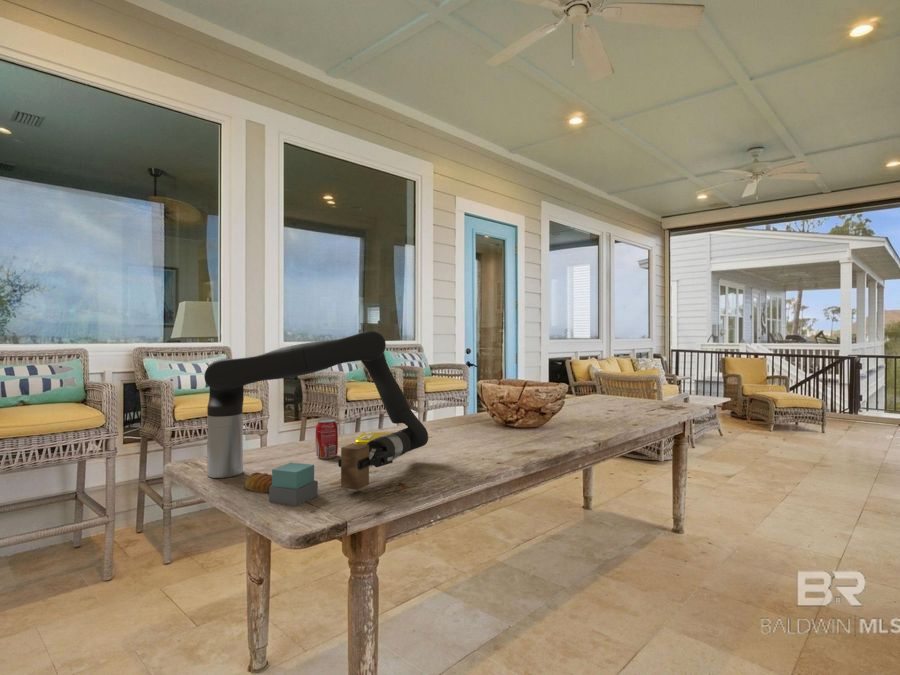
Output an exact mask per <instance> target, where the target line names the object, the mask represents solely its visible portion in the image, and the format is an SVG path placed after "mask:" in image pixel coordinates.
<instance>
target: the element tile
mask: <svg viewBox="0 0 900 675" xmlns="http://www.w3.org/2000/svg"><path fill="white" fill-rule="evenodd" d="M394 432H395V431H392V432H390V431H388V432H387V431H386V432H383V431H380V432H375V431H374V432H373V431H372V432H370V431H369V432H366V431H365V432H362V433H361V434H360V435H359V436H358V437H356V439H355V440H354V444H363V445H367V443H368V442H369V441H371V440H373V439H375V438H378V437H381V436H384V435H389V434H392V433H394Z"/></svg>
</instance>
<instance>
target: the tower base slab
mask: <svg viewBox="0 0 900 675" xmlns="http://www.w3.org/2000/svg"><path fill="white" fill-rule="evenodd" d="M318 481H319V480H315V479H314V481H313V482H311V483H309V484H307V485H305V486H302V487H300V488H298V489H290V488H282V487H274V486H272V485H271V486H269V492H268V494H269V497H268V498H269V499H268V501H269V503H274V504H281V505H287V506H292V507H297V506H299V505H302V504H303V503H305V502H308V501H310V500H311V499H313V498H314V499H315V498H316V497H318V496H319V495H318V494H319V493H318V492H319V487H318V485H319V482H318Z"/></svg>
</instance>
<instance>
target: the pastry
mask: <svg viewBox="0 0 900 675" xmlns="http://www.w3.org/2000/svg"><path fill="white" fill-rule="evenodd" d="M271 485H272V474H270V473H269V474H268V473H265V472H264V473H262V472H253V473H251V475H249V476H248V477H247V478H246V480H245V482H244V487H245V488H246V489H247V490H249V491H250V492H255V493H263V494H265V493H269V486H271Z"/></svg>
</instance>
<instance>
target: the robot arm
mask: <svg viewBox="0 0 900 675" xmlns="http://www.w3.org/2000/svg"><path fill="white" fill-rule="evenodd" d="M386 345H387V344H386V340H385V337H384V336H383V335H382V334H381V333H379V332H377V331H375V330H365V331H363V332H360V333H356V334H353V335H349V336H345V337H341V338H338V339H337V338H336V339H329V340H319V341H311V342H304V343H298V344H293V345H288V346H284V347H280V348H276V349H274V350H270V351H268V352H264V353H262V354H258V355H255V356H254V355H253V356H248V357H241V358H230V357H226V358H224V357H223V358H220V359H217V360H216V359H215V360H214V361H212V362H211V363H210V364H209V365H208V366H207V368H206V370H205V372H204V382H205V383H206V385H207V386H208V388H209V398H208V403H207V408H206V410H207V411H206V414H207V415H206V416H207V419H206V420H207V423H206V424H207V441H206V472H207V476H208V477H210V478H213V479H214V478H215V479H216V478H217V479H222V478H231V477H235V476H238V475H241V474H242V473H243V472H244V459H243V458H244V448H243V447H244V445H243V443H244V442H243V441H244V434H243V433H244V432H243V430H244V428H243V414H244V413H243V412H244V411H243V407H244V406H243V405H244V394H245V393H244V392H245V391H244V387H245V386H246V385H250V384H254V383H259V382H262V381H271V380H280V379H281V380H282V379H288V378H294V377H300V376H303V375H304V376H305V375H310V374H313V373H316V372H320V371H321V372H322V371H324V370H327V369H330V368H331V367H334V366H338V365H341V364H344V363H352V362H360V361H361V363H362V364H363V365H364V367H365V369H366V370H367V372H368V373H369V375H370V377H371V379H372V381H373V383H374V385H375V387H376V389H377V392H378V394H379V397H380V400H381V401H382V404H383V407H384V409H385V411H386V413H387V415H388V418H389V419H390V422H391V423H392V424H395V425H396V424H403V425H405V426H406V427H405V428H403V429H400V430H398V431H393V432H394V433H392V434H389V435H384V436H381V437H378V438H375V439H373V440H371V441H369V442H368V443H367V445H369V456H368V458H364V459H361V460H359V461H358V463H357V469H358V470H361V469H364V468H366V467H369V468H372V467H375V468H379V467H383V466H386V465H390V464H393V461H394V460H396V459H398V458H400V457H401V456H403V455H405V454H406V453H409V452H411V451H413V450H417V449H419V448H421V447H422V448H423V447H424V446H426V445H427V444H428V442H429V433H428V431H427V428H426V427H425V425H424V424H423V423H422V422H421V421H420V419H419V418H418V417H417V415H415V413H414V412H413V411H412V409H411V407H410V405H409V401H408V400H407V398H406V396H405V394H404V392H403V390H402V389H401V387H400V385H399V384H398V381H397V380H396V379H395V377H394V375H393V373H392V371H391V370H390V368H389V365H388V362H387V359H386V356H385V351H386V347H387V346H386ZM337 461H338V467H339V468H341V457H340V458H339V459H338V460H337Z"/></svg>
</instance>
